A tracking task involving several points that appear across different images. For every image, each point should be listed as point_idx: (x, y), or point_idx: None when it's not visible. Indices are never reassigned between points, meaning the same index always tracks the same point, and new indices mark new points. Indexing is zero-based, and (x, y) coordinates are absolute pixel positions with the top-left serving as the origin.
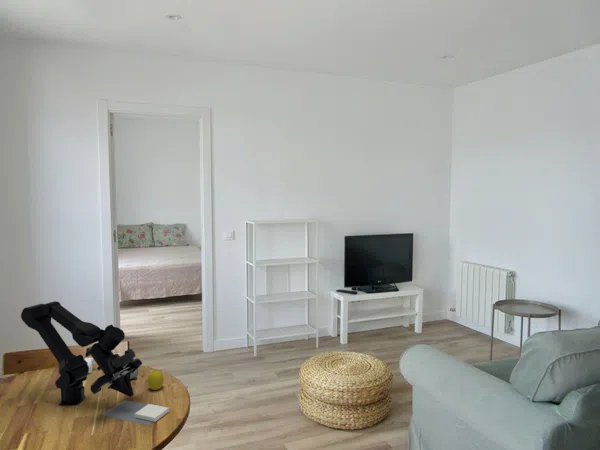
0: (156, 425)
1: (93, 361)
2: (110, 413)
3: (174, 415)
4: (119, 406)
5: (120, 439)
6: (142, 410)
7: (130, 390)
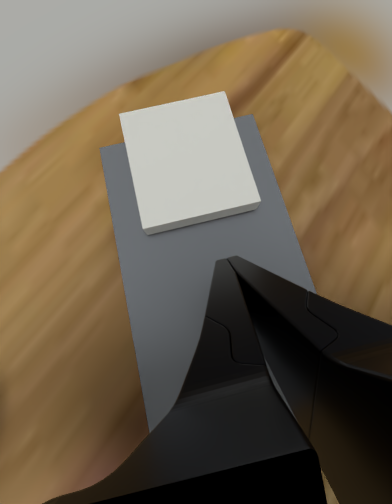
0: None
1: None
2: None
3: None
4: None
5: (374, 138)
6: (213, 195)
7: (241, 274)
